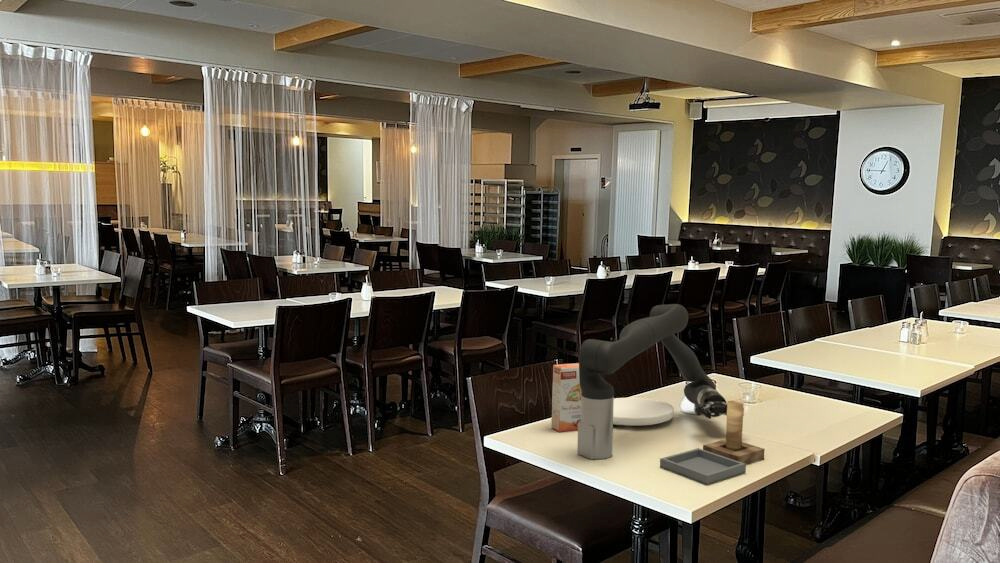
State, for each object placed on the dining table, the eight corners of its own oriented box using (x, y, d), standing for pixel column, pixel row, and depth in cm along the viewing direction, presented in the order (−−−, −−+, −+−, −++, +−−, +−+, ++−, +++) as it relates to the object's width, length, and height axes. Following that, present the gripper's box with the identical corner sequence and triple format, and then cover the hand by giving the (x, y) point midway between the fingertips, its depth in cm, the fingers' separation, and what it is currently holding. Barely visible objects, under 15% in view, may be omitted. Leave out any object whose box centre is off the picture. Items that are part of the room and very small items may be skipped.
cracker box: (559, 433, 235) (560, 367, 233) (550, 427, 240) (551, 364, 238) (598, 428, 240) (599, 364, 238) (588, 423, 246) (589, 361, 244)
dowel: (734, 460, 210) (737, 405, 209) (721, 456, 214) (724, 402, 212) (744, 457, 213) (746, 403, 211) (731, 453, 216) (733, 399, 215)
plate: (590, 415, 239) (588, 395, 265) (591, 434, 239) (590, 413, 266) (678, 409, 236) (668, 389, 262) (680, 429, 236) (669, 407, 263)
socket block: (737, 467, 205) (738, 456, 205) (702, 455, 215) (703, 445, 214) (764, 459, 212) (764, 448, 212) (728, 447, 222) (729, 438, 221)
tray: (707, 485, 191) (707, 475, 191) (659, 467, 204) (660, 458, 204) (745, 472, 200) (745, 463, 200) (698, 456, 213) (698, 448, 213)
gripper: (689, 390, 239) (701, 403, 223) (734, 390, 239) (749, 404, 223) (688, 412, 240) (700, 427, 224) (733, 413, 239) (747, 428, 223)
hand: (724, 415), depth 223 cm, fingers open, 8 cm apart
